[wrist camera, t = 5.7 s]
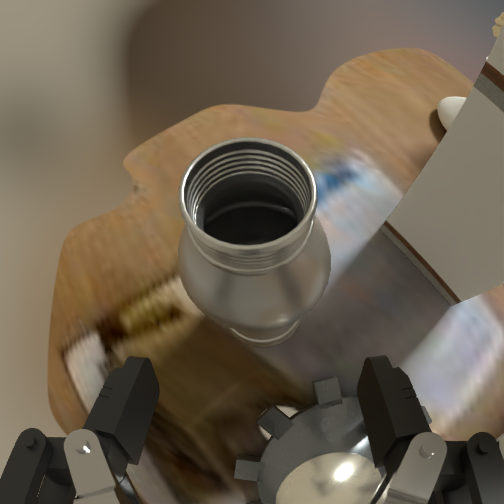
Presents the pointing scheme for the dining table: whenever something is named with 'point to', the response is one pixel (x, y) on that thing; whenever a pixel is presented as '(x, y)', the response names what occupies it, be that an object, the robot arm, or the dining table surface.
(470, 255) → the display case
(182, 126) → the dining table surface
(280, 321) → the silver bottle
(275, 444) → the sprocket plate
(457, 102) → the flower in vase
